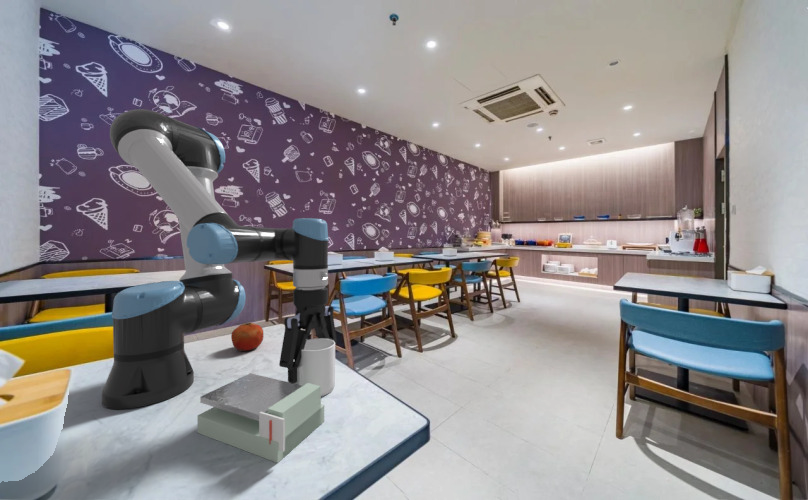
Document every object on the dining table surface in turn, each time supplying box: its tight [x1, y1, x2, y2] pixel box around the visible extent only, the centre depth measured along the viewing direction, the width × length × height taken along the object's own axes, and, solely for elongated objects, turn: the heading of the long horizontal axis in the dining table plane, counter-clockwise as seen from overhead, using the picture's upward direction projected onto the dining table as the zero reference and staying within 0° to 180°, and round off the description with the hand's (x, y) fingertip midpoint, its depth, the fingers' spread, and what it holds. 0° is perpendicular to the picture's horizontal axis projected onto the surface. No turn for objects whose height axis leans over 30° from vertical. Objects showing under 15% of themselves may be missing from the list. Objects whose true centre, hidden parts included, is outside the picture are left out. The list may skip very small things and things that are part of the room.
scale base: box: [197, 383, 325, 464], centre depth 51 cm, size 19×11×7 cm, turn 68°
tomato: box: [231, 322, 264, 352], centre depth 90 cm, size 9×9×8 cm
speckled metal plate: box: [199, 373, 302, 421], centre depth 52 cm, size 14×10×3 cm
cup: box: [299, 337, 336, 397], centre depth 66 cm, size 8×12×10 cm
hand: (311, 385), depth 66 cm, fingers open, 9 cm apart
